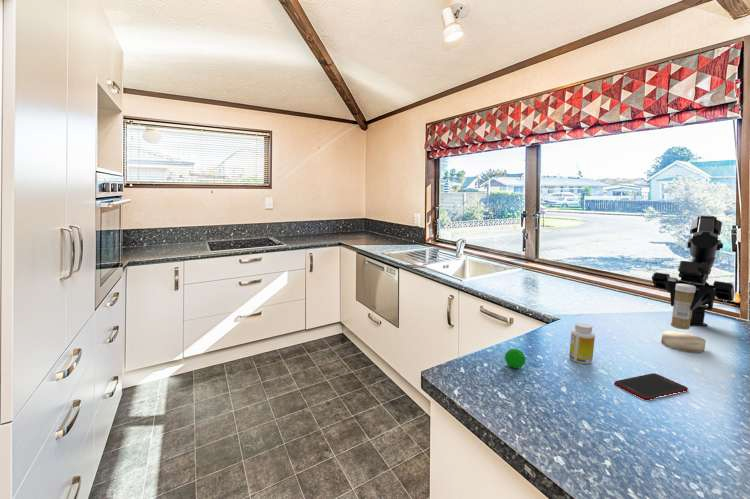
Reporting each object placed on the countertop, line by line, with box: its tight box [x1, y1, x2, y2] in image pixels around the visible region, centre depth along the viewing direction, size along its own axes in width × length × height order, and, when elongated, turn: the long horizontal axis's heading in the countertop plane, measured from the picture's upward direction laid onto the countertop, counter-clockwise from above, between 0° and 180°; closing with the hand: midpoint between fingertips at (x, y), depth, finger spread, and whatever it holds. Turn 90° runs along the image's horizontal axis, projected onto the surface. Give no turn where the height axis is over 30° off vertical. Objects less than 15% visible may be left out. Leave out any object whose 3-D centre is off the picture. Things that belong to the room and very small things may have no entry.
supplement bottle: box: [568, 322, 596, 365], centre depth 96 cm, size 6×6×10 cm
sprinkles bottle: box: [670, 284, 696, 330], centre depth 106 cm, size 5×5×13 cm
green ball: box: [504, 348, 526, 369], centre depth 92 cm, size 5×5×5 cm
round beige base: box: [660, 330, 707, 354], centre depth 106 cm, size 10×10×3 cm
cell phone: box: [614, 372, 689, 401], centre depth 83 cm, size 8×15×1 cm, turn 109°
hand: (681, 307), depth 105 cm, fingers closed on sprinkles bottle, 4 cm apart
